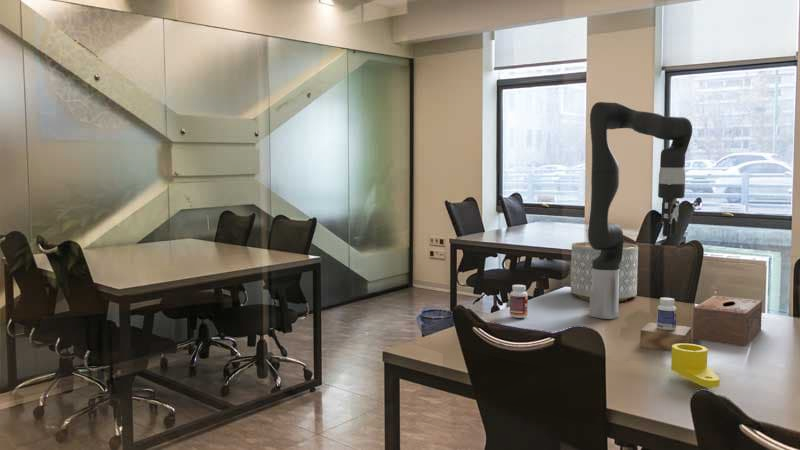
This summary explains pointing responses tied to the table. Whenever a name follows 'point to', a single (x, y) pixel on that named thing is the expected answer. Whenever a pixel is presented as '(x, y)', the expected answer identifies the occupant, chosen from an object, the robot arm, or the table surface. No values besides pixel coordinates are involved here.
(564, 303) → the table surface
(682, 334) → the walnut block
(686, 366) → the crank
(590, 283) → the planter
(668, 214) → the robot arm
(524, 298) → the pill bottle
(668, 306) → the pill bottle
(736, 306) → the tissue box cover
